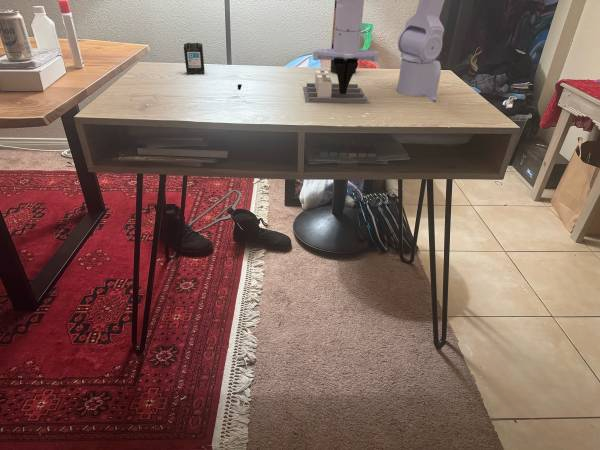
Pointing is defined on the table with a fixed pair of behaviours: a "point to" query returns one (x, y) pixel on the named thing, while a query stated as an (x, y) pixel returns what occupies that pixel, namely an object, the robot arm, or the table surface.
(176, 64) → the table surface
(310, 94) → the switch bank
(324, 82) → the tab
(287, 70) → the table surface
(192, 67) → the ink cartridge
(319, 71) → the tab
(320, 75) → the tab middle
